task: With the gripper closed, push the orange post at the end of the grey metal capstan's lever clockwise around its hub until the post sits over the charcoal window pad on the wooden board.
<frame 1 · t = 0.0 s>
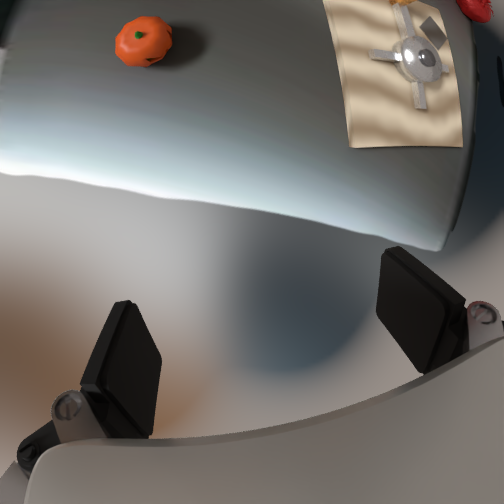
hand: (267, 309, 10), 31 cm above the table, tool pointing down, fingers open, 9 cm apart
pumpkin: (149, 48, 28), on the table
capstan: (418, 46, 26), point 6 cm above the table, hinge at 0.0°
pomegranate: (464, 7, 24), on the table
wooden board: (401, 63, 32), on the table
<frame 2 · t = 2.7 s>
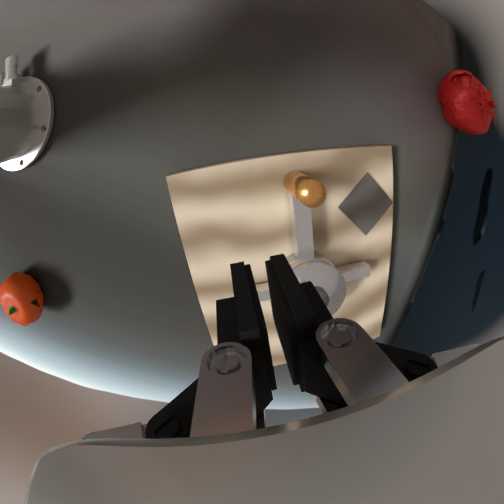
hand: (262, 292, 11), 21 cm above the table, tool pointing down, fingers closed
pumpkin: (31, 286, 31), on the table
capstan: (310, 275, 29), point 5 cm above the table, hinge at 0.0°
pomegranate: (451, 101, 27), on the table
wooden board: (298, 270, 35), on the table
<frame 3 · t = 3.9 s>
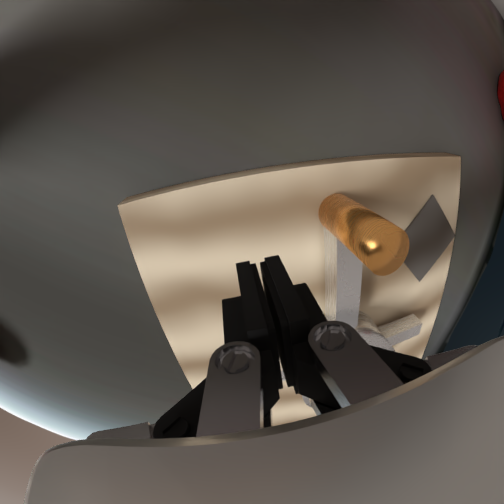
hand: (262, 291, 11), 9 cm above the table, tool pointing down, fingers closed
capstan: (350, 352, 18), point 6 cm above the table, hinge at 0.0°
wooden board: (324, 328, 24), on the table
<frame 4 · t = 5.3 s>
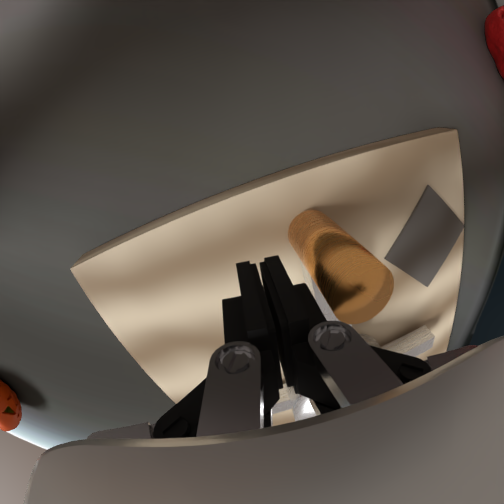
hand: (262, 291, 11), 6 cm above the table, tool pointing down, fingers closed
pumpkin: (5, 385, 21), on the table
capstan: (347, 384, 15), point 6 cm above the table, hinge at 2.7°, touching gripper
pomegranate: (500, 51, 11), on the table
wooden board: (325, 350, 21), on the table
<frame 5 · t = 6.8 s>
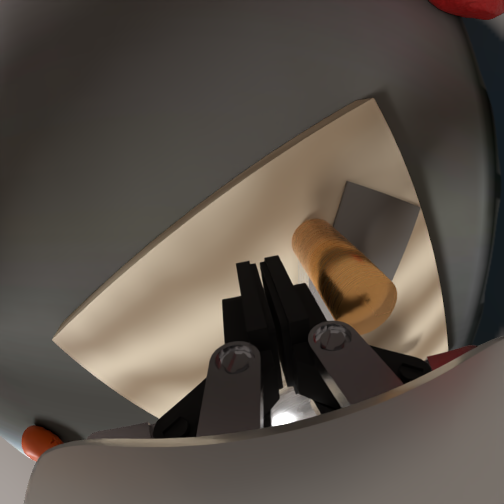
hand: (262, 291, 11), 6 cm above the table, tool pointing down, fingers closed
pumpkin: (49, 431, 25), on the table
capstan: (321, 398, 15), point 6 cm above the table, hinge at 29.5°, touching gripper
wooden board: (299, 362, 21), on the table
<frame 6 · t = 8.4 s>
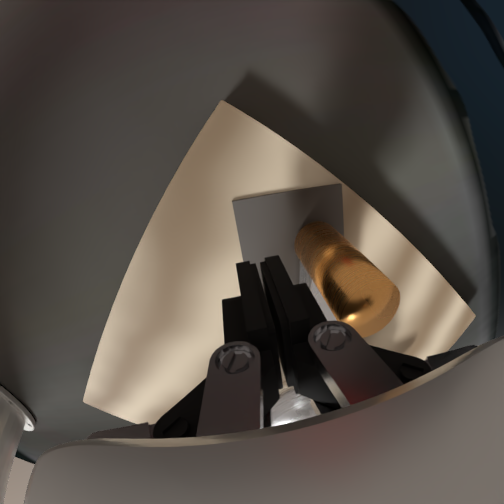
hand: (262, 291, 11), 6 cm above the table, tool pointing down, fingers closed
capstan: (319, 400, 15), point 5 cm above the table, hinge at 53.2°
wooden board: (297, 364, 21), on the table
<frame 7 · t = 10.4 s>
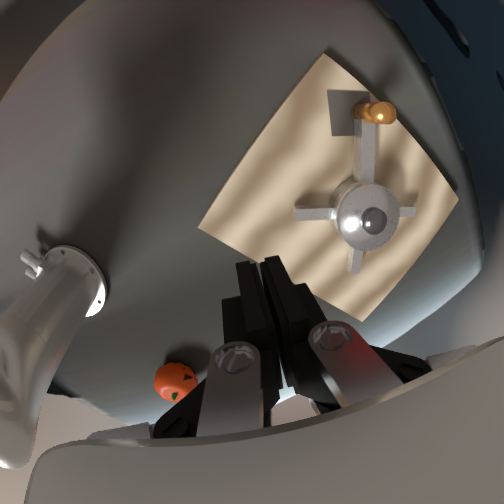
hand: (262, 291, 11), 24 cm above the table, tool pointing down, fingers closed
pumpkin: (178, 368, 46), on the table
capstan: (369, 197, 29), point 5 cm above the table, hinge at 53.2°
wooden board: (349, 203, 35), on the table
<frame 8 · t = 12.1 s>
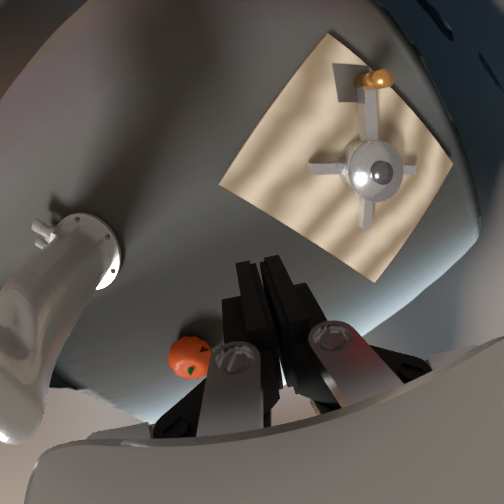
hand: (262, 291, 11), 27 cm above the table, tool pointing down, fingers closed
pumpkin: (191, 344, 46), on the table
capstan: (376, 152, 30), point 5 cm above the table, hinge at 53.2°
wooden board: (356, 164, 36), on the table
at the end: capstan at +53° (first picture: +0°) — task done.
